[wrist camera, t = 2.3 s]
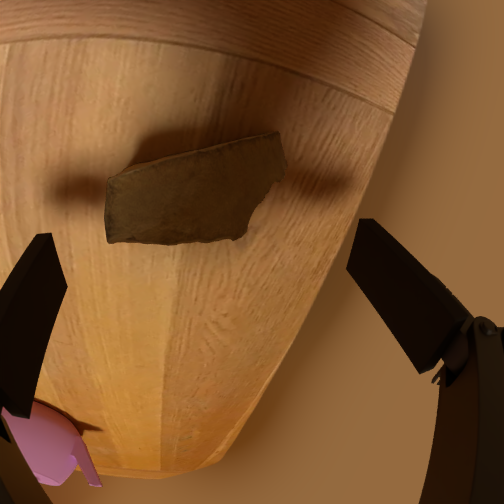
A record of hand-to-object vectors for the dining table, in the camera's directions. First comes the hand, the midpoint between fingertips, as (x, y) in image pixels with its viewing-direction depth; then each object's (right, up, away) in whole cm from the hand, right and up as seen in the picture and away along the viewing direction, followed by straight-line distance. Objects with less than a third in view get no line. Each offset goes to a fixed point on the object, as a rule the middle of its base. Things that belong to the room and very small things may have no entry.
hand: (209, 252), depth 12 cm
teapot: (-30, -25, +19) cm, 43 cm away
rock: (-2, +5, +6) cm, 8 cm away
